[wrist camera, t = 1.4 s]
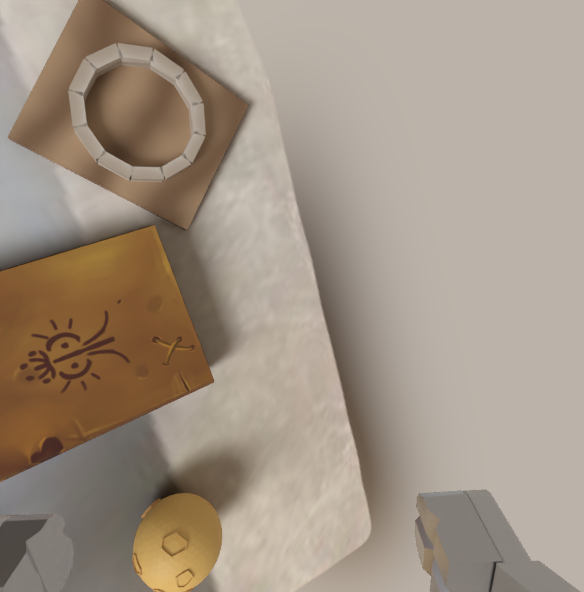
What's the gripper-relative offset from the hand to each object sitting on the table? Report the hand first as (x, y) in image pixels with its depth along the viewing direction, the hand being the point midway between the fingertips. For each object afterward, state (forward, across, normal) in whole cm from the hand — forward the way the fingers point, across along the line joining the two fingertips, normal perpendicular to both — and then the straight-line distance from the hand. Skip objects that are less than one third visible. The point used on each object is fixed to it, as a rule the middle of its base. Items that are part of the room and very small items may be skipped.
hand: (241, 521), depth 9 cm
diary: (+32, +23, +10) cm, 40 cm away
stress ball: (+30, +16, +34) cm, 49 cm away
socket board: (+38, +14, -12) cm, 43 cm away
